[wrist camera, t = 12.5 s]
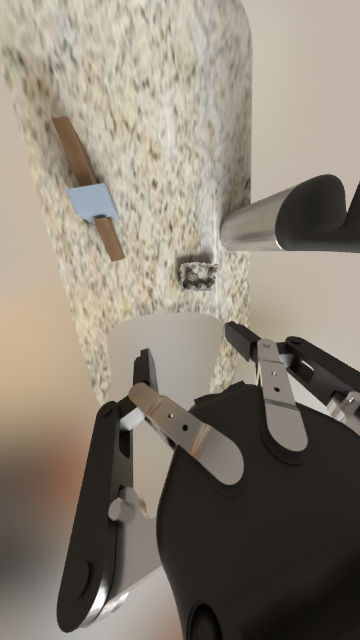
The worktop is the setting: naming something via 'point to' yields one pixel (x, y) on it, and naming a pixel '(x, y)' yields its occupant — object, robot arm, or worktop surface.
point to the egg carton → (201, 274)
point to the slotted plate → (87, 181)
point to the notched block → (93, 202)
